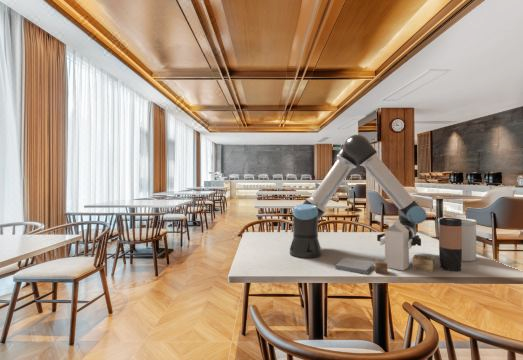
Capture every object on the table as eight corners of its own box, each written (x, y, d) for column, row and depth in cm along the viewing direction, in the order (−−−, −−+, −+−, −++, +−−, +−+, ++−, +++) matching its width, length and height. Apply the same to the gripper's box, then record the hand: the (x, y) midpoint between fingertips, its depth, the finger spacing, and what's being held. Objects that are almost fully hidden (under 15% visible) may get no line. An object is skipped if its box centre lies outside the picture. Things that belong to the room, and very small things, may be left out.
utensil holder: (442, 260, 127) (442, 220, 128) (434, 252, 141) (434, 216, 141) (482, 263, 122) (482, 222, 122) (470, 254, 136) (470, 218, 136)
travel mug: (465, 272, 110) (465, 220, 110) (443, 271, 112) (443, 219, 112) (456, 266, 118) (456, 217, 118) (436, 265, 119) (435, 217, 120)
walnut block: (376, 273, 110) (376, 262, 110) (374, 270, 113) (374, 260, 113) (387, 274, 109) (387, 263, 109) (385, 271, 112) (385, 260, 112)
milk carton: (409, 267, 117) (408, 220, 117) (403, 271, 112) (403, 222, 112) (390, 263, 122) (390, 219, 122) (384, 267, 117) (384, 220, 117)
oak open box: (412, 269, 115) (412, 258, 115) (414, 265, 121) (414, 254, 121) (432, 272, 111) (432, 261, 111) (434, 267, 117) (434, 257, 117)
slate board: (335, 268, 115) (335, 264, 115) (345, 261, 125) (345, 258, 125) (366, 274, 108) (366, 270, 108) (373, 266, 118) (373, 262, 118)
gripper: (431, 245, 126) (426, 257, 107) (378, 240, 138) (366, 249, 120) (431, 228, 126) (426, 237, 107) (378, 224, 138) (366, 231, 120)
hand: (394, 243), depth 113 cm, fingers open, 9 cm apart
